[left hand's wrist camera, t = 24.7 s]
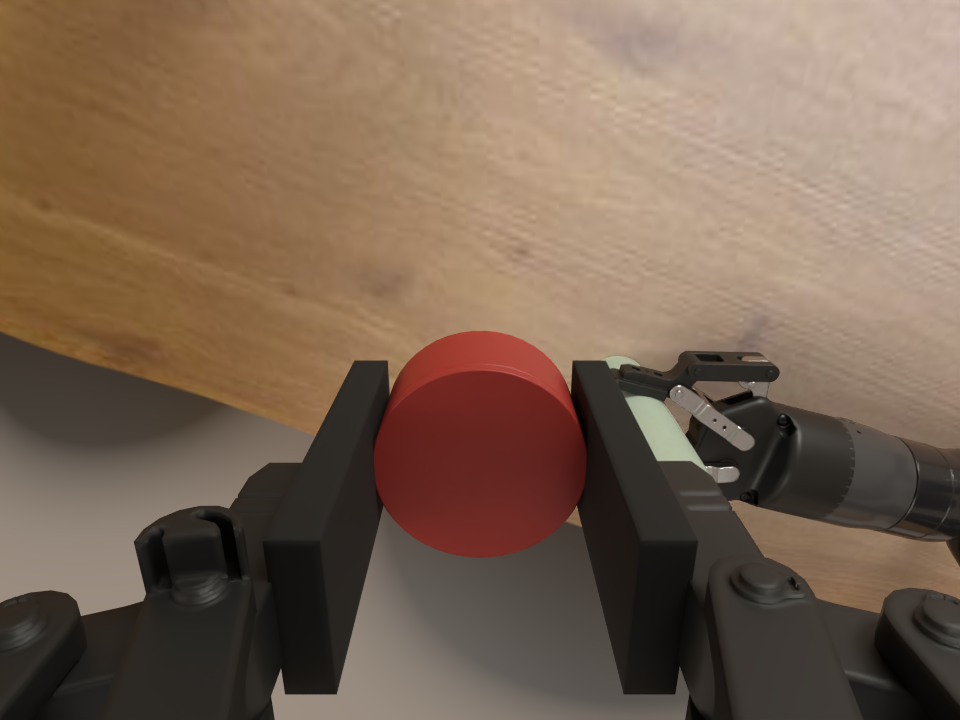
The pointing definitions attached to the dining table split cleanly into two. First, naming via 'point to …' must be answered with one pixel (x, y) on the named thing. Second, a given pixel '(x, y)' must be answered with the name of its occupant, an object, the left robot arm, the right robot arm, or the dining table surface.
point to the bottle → (657, 423)
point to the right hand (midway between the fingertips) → (598, 413)
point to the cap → (480, 446)
